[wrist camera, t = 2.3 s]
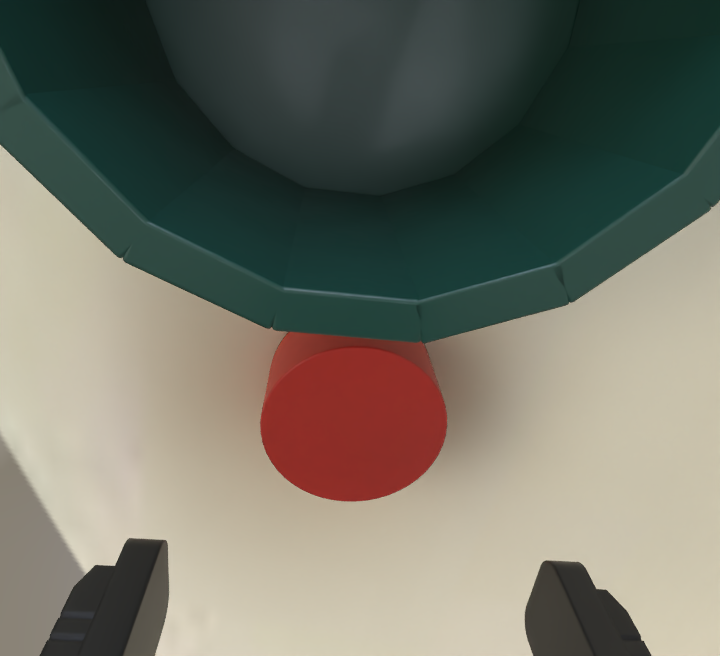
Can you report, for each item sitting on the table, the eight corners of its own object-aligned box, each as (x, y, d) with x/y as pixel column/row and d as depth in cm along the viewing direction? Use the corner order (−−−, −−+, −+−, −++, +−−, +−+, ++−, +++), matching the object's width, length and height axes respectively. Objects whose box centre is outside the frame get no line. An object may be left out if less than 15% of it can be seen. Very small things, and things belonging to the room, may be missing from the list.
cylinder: (444, 313, 18) (464, 355, 16) (417, 449, 21) (430, 507, 18) (274, 297, 18) (264, 338, 15) (266, 439, 20) (255, 497, 17)
